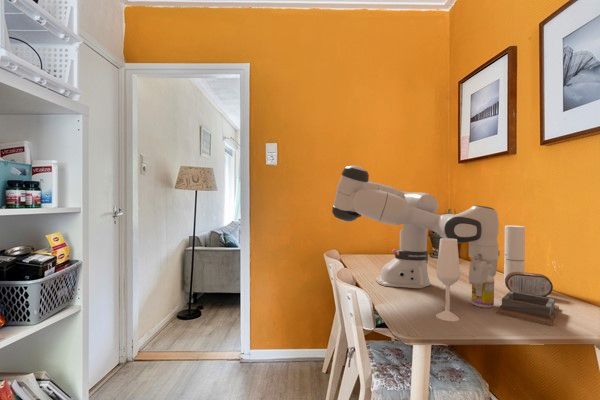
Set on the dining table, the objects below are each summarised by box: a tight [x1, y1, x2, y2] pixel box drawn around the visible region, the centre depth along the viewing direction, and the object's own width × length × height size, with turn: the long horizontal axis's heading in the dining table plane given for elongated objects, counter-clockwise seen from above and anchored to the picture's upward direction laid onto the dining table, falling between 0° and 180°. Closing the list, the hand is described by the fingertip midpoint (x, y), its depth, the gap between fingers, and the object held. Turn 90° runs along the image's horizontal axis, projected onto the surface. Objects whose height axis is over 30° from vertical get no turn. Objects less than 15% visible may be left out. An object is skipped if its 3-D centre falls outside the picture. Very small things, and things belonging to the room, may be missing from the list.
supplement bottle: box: [471, 268, 495, 309], centre depth 110 cm, size 7×7×13 cm
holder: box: [495, 290, 560, 326], centre depth 105 cm, size 20×14×4 cm
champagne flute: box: [435, 237, 461, 322], centre depth 99 cm, size 7×7×24 cm
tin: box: [504, 271, 554, 297], centre depth 122 cm, size 15×3×8 cm, turn 65°
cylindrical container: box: [503, 224, 526, 285], centre depth 137 cm, size 7×7×25 cm
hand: (482, 293), depth 110 cm, fingers closed on supplement bottle, 7 cm apart
